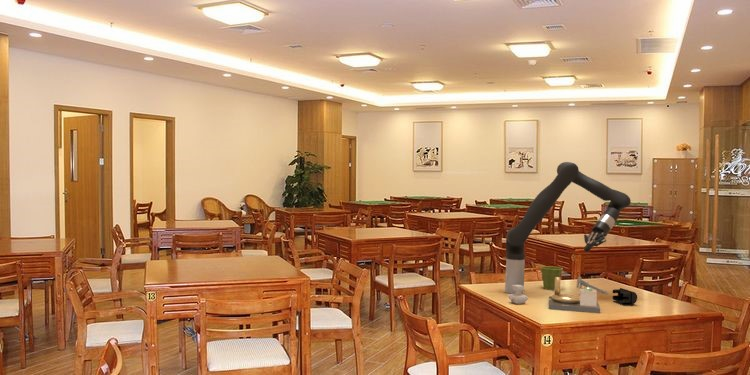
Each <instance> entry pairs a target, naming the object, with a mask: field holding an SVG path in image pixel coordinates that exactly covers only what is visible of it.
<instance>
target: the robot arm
mask: <svg viewBox="0 0 750 375" xmlns="http://www.w3.org/2000/svg"><path fill="white" fill-rule="evenodd" d="M579 169H580V168H579V167H578V165H577V164H576V163H574V162H571V161H563V162H561V163H559V165H557V168H556V173H557V175H556V176H555V178H553V180H552V182H550V183H549V184H548V185H547V186H546V187H544V189H542V190H541V191H539V193H538V194H537V195H536V197H535V198H534V199H533V201H532V202H531V203H530V204H529V207H527V210H526V212H525V214H524V215H523V217H522V219H521V221H520V222H519V223H518V224H517V225H516V226H515V227H510V228H509V230H507V231H506V232H507V233H506V237H505V253H506V254H505V255H506V256H505V258H506V259H505V260H506V263H505V267H506V268H505V280H504V281H505V282H504V284H505V285H504V293H506V294H515V293H516V291H515V290H513V288H512V285H521V286H524V287H525V266H526V264H525V261H526V258H525V257H526V253H525V242H526V241H527V240H528V238H529V236H530V235H531V233H532V232H533V231H534V229H535V227H536V226H537V225H538V224H539V223H540V222H541V221H542V220H543V219H544V217H545V216H546V215H547V214H548V213H549V212H550V210H551V209H552V207H554V205H555V204H556V202H557V201H558V199H559V198H560V197H561V196H562V194H563V192H564V191H565V190H566V189H567V188H569V185H571V183H573V184H575V185H577V186H579V187H581V189H582V188H583V189H584V190H586V191H588V192H589V193H591V194H592V195H594V196H595V197H597V198H599V199H600V200H602V201H604V202H609V203H608V205H607V207H606V210H605V211H603V213H602V215H601V216H600V217H599V218H598V220H596V222H595V224H594V225H593V227H592V231H590V232H589V234H587V233H585V234H584V235H583V237H584V239H583V241H584V243H585V246H584V248H583V250H584V252H585V253H589V252H590V251H591V250H592V249H593V248H594V247H595V248H596V247H598V246H600V245H602V244H604V243H606V242H607V239H606V237H607V236H608V234H609V232H611V230H612V229H613V227H614V225H615V224H616V222H617V220H618V219H619V218H620V212H621V211H622V210H623V209H626V208H629V206H630V205H631V203H632V200H631V197H629V195H628V194H626V192H622V191H619V190H616V189H614V188H613V189H612V188H611V187H610V186H608V185H606V184H604V183H602V182H601V181H598V180H596V179H594V178H593V177H590V176H587V175H585V173H583V172H581V171H580V170H579ZM524 291H525V289H524V290H523V291H521V294H522V295H523V294H524Z"/></svg>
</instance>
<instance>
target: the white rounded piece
mask: <svg viewBox="0 0 750 375" xmlns="http://www.w3.org/2000/svg"><path fill="white" fill-rule="evenodd" d="M512 288H513V290H515V291H516V293H515V294H512V293H509V295H508V299H509V301H510V302H511V303H513V304H515V305H519V304H520V305H521V304H525V303H526V302H527V301H528V300H529V297H528V296H527V295H525V294H523V293H522V294H521V291H523V290H524V291H525V285H524V286H521V285H512Z"/></svg>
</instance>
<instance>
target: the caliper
mask: <svg viewBox="0 0 750 375" xmlns="http://www.w3.org/2000/svg"><path fill="white" fill-rule="evenodd" d="M582 287H590V288H593V289H596V291H597V292H598V293H601V294H604V295H605V294H606V295H609V293H608V292H607V291H606V290H604V289H602V288H600V287H598V286H595V285H593V284H591V283H589V282H588V281H586V280H585V279H583V277H581V276H578V278H577V279H576V288H579V289H580V288H581V289H582Z"/></svg>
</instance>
